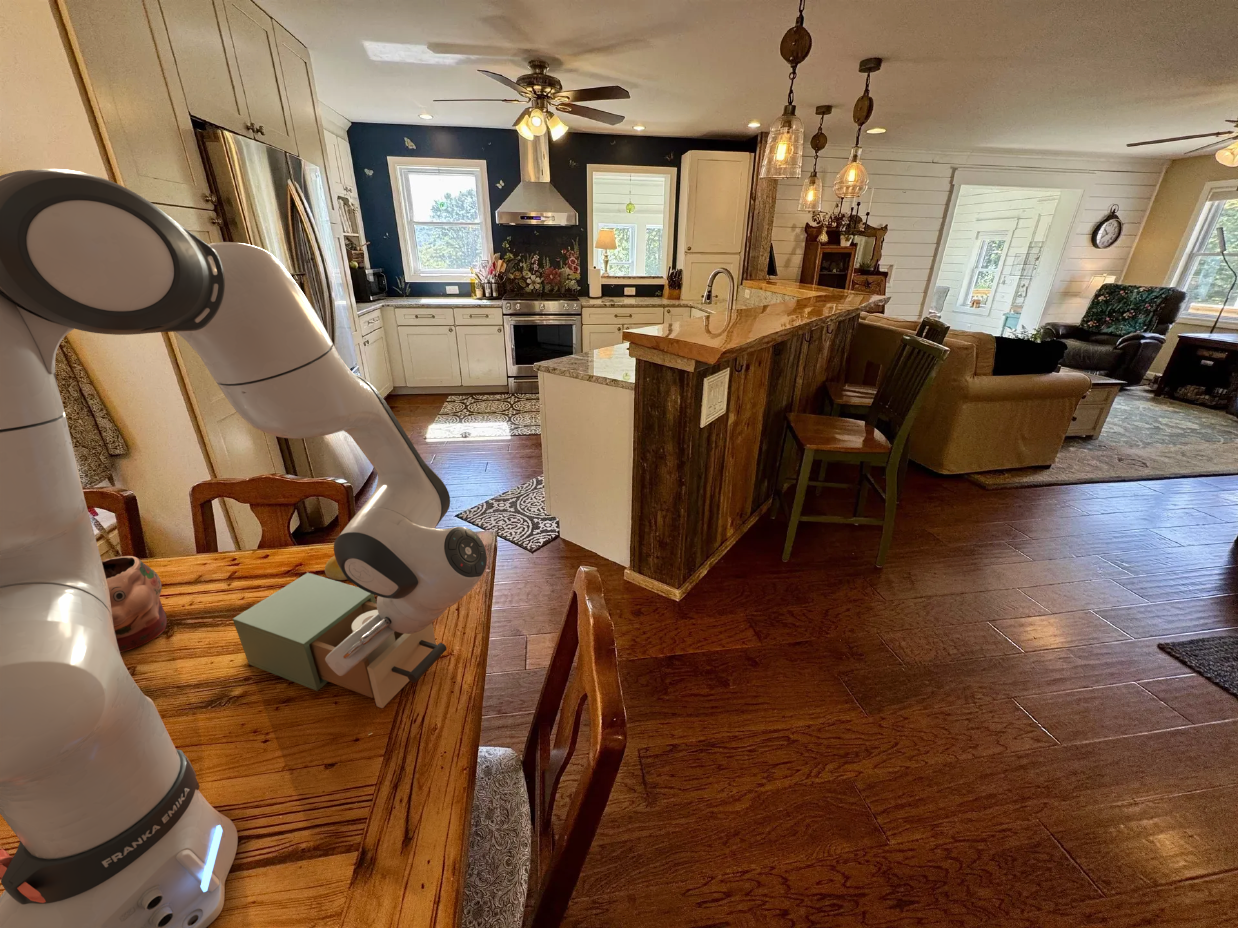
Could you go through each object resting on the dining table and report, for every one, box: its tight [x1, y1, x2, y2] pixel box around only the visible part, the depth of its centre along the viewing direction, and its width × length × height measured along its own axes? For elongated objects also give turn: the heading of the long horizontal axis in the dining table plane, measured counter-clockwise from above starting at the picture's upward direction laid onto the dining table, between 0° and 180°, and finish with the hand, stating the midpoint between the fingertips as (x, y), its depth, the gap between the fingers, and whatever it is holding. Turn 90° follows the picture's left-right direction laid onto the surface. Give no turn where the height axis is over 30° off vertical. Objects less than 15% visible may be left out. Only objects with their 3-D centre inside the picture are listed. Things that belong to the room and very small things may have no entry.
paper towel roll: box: [352, 610, 396, 665], centre depth 79 cm, size 6×6×8 cm
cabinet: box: [232, 572, 377, 692], centre depth 84 cm, size 16×14×10 cm
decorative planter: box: [101, 555, 168, 653], centre depth 87 cm, size 20×12×14 cm, turn 49°
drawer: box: [309, 601, 448, 709], centre depth 79 cm, size 19×12×8 cm, turn 70°
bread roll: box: [324, 555, 348, 581], centre depth 107 cm, size 8×9×4 cm
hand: (371, 635), depth 79 cm, fingers closed on paper towel roll, 5 cm apart
